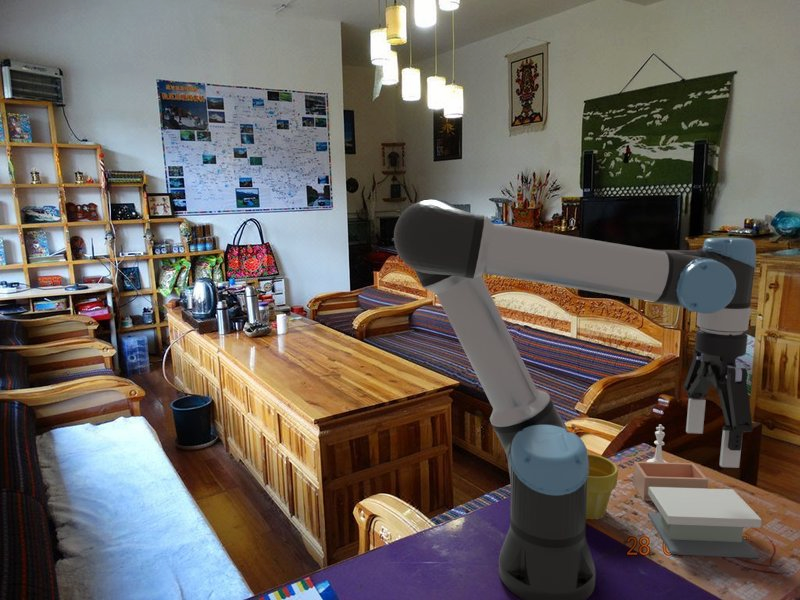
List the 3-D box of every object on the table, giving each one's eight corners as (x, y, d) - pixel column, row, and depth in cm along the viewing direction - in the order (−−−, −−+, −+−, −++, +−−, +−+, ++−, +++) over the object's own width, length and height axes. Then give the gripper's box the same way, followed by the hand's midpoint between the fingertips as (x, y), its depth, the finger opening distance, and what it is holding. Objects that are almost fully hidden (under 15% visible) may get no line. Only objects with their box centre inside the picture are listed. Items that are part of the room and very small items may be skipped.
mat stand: (671, 554, 94) (672, 527, 93) (647, 515, 106) (649, 491, 105) (758, 558, 93) (760, 531, 92) (724, 518, 105) (726, 493, 104)
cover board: (667, 524, 95) (668, 516, 94) (648, 494, 104) (648, 486, 104) (760, 527, 93) (761, 519, 93) (732, 496, 103) (732, 489, 102)
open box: (643, 500, 111) (644, 477, 111) (632, 483, 118) (634, 461, 117) (706, 502, 110) (708, 479, 109) (691, 485, 117) (693, 463, 116)
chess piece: (641, 462, 128) (644, 421, 126) (661, 460, 128) (664, 419, 127) (653, 472, 123) (656, 429, 121) (674, 470, 124) (677, 428, 122)
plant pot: (620, 505, 110) (623, 459, 108) (609, 531, 101) (611, 482, 100) (568, 492, 115) (569, 448, 114) (553, 515, 107) (554, 468, 105)
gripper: (789, 349, 80) (773, 484, 84) (711, 315, 105) (702, 421, 108) (734, 348, 81) (721, 482, 85) (670, 315, 106) (662, 420, 109)
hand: (710, 448), depth 97 cm, fingers open, 13 cm apart
